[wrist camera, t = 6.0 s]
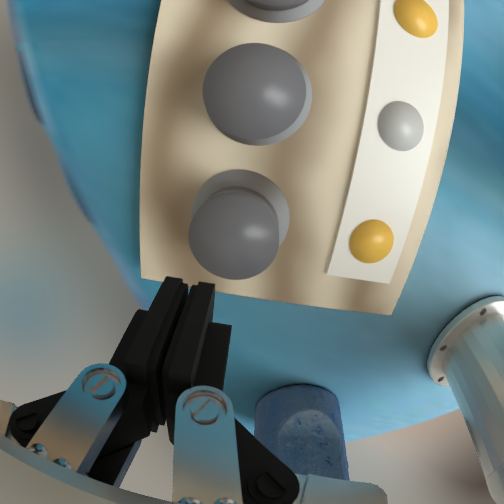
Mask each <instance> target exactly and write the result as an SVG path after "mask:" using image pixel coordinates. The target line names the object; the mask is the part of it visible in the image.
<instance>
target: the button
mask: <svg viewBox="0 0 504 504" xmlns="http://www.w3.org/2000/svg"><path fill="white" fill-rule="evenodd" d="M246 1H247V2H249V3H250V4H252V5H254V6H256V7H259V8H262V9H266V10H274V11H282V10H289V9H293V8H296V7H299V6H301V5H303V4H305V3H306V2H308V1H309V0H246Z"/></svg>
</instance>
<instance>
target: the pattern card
mask: <svg viewBox="0 0 504 504" xmlns="http://www.w3.org/2000/svg"><path fill="white" fill-rule="evenodd" d="M448 23H449V0H379V11H378V21H377V30H376V38H375V46H374V54H373V61H372V68H371V75H370V81H369V87H368V93H367V99H366V105H365V111H364V116H363V122H362V127H361V132H360V137H359V142H358V147H357V152H356V156H355V161H354V166H353V170H352V175H351V179H350V183H349V188H348V192H347V196H346V200H345V204H344V208H343V212H342V216H341V220H340V224H339V228H338V232H337V236H336V239H335V243H334V247H333V250H332V254H331V258H330V261H329V265H328V268H327V272H326V274H327V275H332V276H339V277H345V278H352V279H359V280H366V281H373V282H379V283H386V284H390V281H391V279H392V276H393V274H394V271H395V268H396V266H397V263H398V260H399V258H400V255H401V252H402V249H403V246H404V243H405V240H406V237H407V234H408V231H409V228H410V225H411V222H412V219H413V216H414V212H415V209H416V206H417V202H418V199H419V195H420V192H421V188H422V185H423V181H424V177H425V173H426V169H427V165H428V161H429V157H430V152H431V148H432V143H433V139H434V134H435V129H436V124H437V118H438V113H439V107H440V101H441V94H442V87H443V80H444V72H445V63H446V53H447V40H448Z"/></svg>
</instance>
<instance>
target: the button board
mask: <svg viewBox="0 0 504 504" xmlns="http://www.w3.org/2000/svg"><path fill="white" fill-rule="evenodd" d="M378 11H379V0H309V1H308V2H306V3H305V4H303V5H301V6H299V7H296V8H293V9H289V10H282V11H274V10H266V9H262V8H259V7H256V6H254V5H252V4H250V3H249V2H247V1H246V0H161V5H160V10H159V14H158V19H157V25H156V30H155V36H154V42H153V48H152V54H151V61H150V68H149V75H148V83H147V91H146V101H145V111H144V122H143V134H142V150H141V170H140V262H141V278H144V279H149V280H155V281H160V282H163V281H164V279H165V277H166V276H170V277H176V278H182V279H183V283H186V284H188V287H191V286H192V285H198V283H199V281H201V282H207V283H214V284H215V291H216V292H222V293H228V294H234V295H240V296H247V297H253V298H260V299H266V300H273V301H280V302H287V303H294V304H301V305H308V306H316V307H323V308H331V309H339V310H348V311H356V312H365V313H374V314H383V315H392V313H393V310H394V308H395V306H396V304H397V301H398V299H399V297H400V294H401V292H402V290H403V287H404V285H405V283H406V280H407V278H408V275H409V273H410V270H411V268H412V265H413V262H414V260H415V257H416V254H417V252H418V249H419V246H420V243H421V241H422V238H423V235H424V232H425V229H426V226H427V223H428V220H429V217H430V213H431V210H432V207H433V204H434V200H435V197H436V193H437V190H438V186H439V183H440V179H441V175H442V171H443V167H444V163H445V159H446V155H447V150H448V146H449V141H450V136H451V131H452V126H453V121H454V115H455V109H456V103H457V96H458V89H459V81H460V73H461V63H462V51H463V34H464V0H449V23H448V40H447V53H446V63H445V72H444V80H443V87H442V94H441V101H440V107H439V113H438V118H437V124H436V129H435V134H434V139H433V143H432V148H431V152H430V157H429V161H428V165H427V169H426V173H425V177H424V181H423V185H422V188H421V192H420V195H419V199H418V202H417V206H416V209H415V212H414V216H413V219H412V222H411V225H410V228H409V231H408V234H407V237H406V240H405V243H404V246H403V249H402V252H401V255H400V258H399V260H398V263H397V266H396V268H395V271H394V274H393V276H392V279H391V281H390V284H386V283H379V282H373V281H366V280H359V279H352V278H345V277H339V276H332V275H327V274H326V272H327V268H328V265H329V261H330V258H331V254H332V250H333V247H334V243H335V239H336V236H337V232H338V228H339V224H340V220H341V216H342V212H343V208H344V204H345V200H346V196H347V192H348V188H349V183H350V179H351V175H352V170H353V166H354V161H355V156H356V152H357V147H358V142H359V137H360V132H361V127H362V122H363V116H364V111H365V105H366V99H367V93H368V87H369V81H370V75H371V68H372V61H373V54H374V46H375V38H376V30H377V21H378ZM246 43H263V44H268V45H271V46H274V47H277V48H279V49H281V50H282V51H284V52H286V53H287V54H288V55H289V56H291V57H292V58H293V59H294V61H295V62H296V63H297V64H298V66H299V67H300V69H301V71H302V73H303V76H304V79H305V83H306V99H305V104H304V107H303V109H302V111H301V113H300V115H299V117H298V118H297V119H296V121H295V122H294V123H293V124H292V125H291V126H290V127H289V128H287V129H286V130H285V131H283V132H281V133H280V134H277V135H275V136H273V137H269V138H265V139H257V140H251V139H243V138H239V137H236V136H233V135H231V134H229V133H227V132H226V131H224V130H222V129H221V128H220V127H219V126H218V125H217V124H216V123H215V122H214V121H213V120H212V119H211V117H210V116H209V114H208V112H207V110H206V108H205V105H204V101H203V93H202V90H203V82H204V78H205V75H206V73H207V71H208V69H209V67H210V66H211V64H212V63H213V61H214V60H215V59H216V58H217V57H218V56H219V55H221V54H222V53H223V52H225V51H226V50H228V49H230V48H232V47H235V46H238V45H241V44H246ZM227 187H245V188H249V189H252V190H254V191H256V192H258V193H260V194H261V195H263V196H264V197H265V198H266V199H267V200H268V201H269V202H270V203H271V204H272V206H273V207H274V209H275V211H276V214H277V217H278V222H279V248H278V252H277V254H276V257H275V259H274V260H273V262H272V263H271V264H270V266H269V267H268V268H267V269H266V270H264V271H263V272H262V273H260V274H258V275H256V276H254V277H251V278H248V279H242V280H230V279H225V278H221V277H218V276H216V275H214V274H212V273H210V272H208V271H207V270H206V269H204V268H203V267H202V266H201V265H200V264H199V263H198V261H197V260H196V259H195V257H194V255H193V253H192V251H191V248H190V245H189V239H188V233H189V227H190V223H191V221H192V219H193V217H194V215H195V214H196V212H197V211H198V209H199V208H200V207H201V205H202V204H203V202H204V201H205V200H206V199H207V198H208V197H209V196H210V195H211V194H213V193H214V192H216V191H218V190H220V189H223V188H227Z"/></svg>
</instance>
